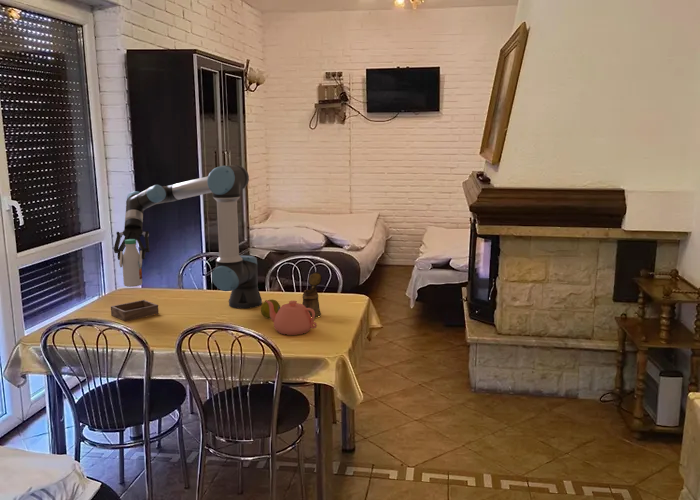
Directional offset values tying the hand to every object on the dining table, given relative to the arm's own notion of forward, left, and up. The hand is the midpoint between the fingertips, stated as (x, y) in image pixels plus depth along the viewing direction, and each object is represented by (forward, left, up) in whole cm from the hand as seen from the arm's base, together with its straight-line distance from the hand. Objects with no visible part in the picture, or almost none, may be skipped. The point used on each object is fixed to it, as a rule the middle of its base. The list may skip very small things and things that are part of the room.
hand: (130, 265), depth 271 cm
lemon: (-43, -41, -23) cm, 64 cm away
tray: (+3, -2, -23) cm, 23 cm away
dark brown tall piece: (-52, -57, -23) cm, 81 cm away
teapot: (-63, -35, -23) cm, 76 cm away
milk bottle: (+3, -2, -10) cm, 10 cm away
